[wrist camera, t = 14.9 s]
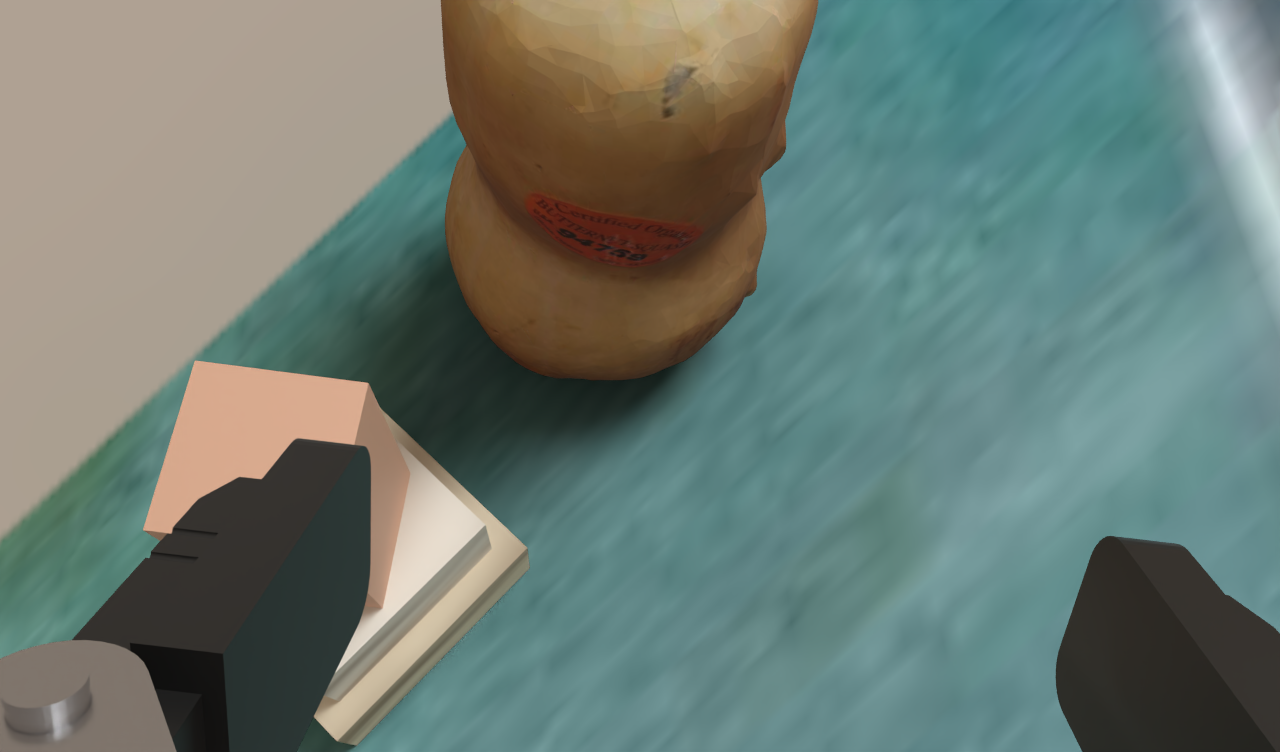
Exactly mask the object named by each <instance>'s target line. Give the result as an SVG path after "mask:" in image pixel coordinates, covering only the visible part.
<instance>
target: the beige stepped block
mask: <svg viewBox="0 0 1280 752" xmlns="http://www.w3.org/2000/svg"><path fill="white" fill-rule="evenodd" d="M380 409H381V408H380ZM381 411H382V413H383V415H384V417H385V419H386V422H387V424H388V426H389V428H390V430H391V432H392V434H393V437H394V439H395V441H396V443H397V445H398V447H399V449H400V452H401V454H402V456H403V458H404V460H405V462H406V464H407V467H408V469H409V471H410V473H411V474H410V479H409V484H408V488H407V493H406V498H405V503H404V508H403V513H402V518H401V522H400V527H399V532H398V537H397V542H396V547H395V552H394V556H393V561H392V566H391V571H390V576H389V581H388V586H387V590H386V595H385V600H384V605H383V608H376V607H368V606H364V610H363V613H362V617H361V619H360V622H359V624H358V627H357V629H356V631H355V633H354V635H353V637H352V639H351V641H350V643H349V645H348V647H347V649H346V651H345V653H344V655H343V658H342V660H341V662H340V664H339V666H338V668H337V670H336V672H335V674H334V676H333V678H332V680H331V682H330V684H329V686H328V688H327V690H326V692H325V694H324V696H323V698H322V701H321V703H320V705H319V707H318V709H317V711H316V713H315V715H314V718H315V719H316V720H317V721H318V722H319V723H320V724H321V725H322V726H323V727H324V728H325V729H326V730H327V731H328V732H329V734H330V735H331V736H332V737H333V738H334V739H335V740H336V741H337V742H342V743H347V744H351V745H356V746H357V745H358V744H359V743H360V742H361V741H362V740H363V739H364V738H365V737H366V736H367V735H368V734H369V733H370V732H371V730H372V729H373V728H374V727H375V726H376V725H377V724H378V723H379V722H380V721H381V720H382V719H383V718H384V717H385V716H386V715H387V714H388V713H389V712H390V711H391V710H392V709H393V708H394V707H395V706H396V705H397V704H398V703H399V702H400V701H401V700H402V699H403V698H404V697H405V696H406V695H407V694H408V693H409V691H410V690H411V689H412V688H413V687H414V686H415V685H416V684H417V683H418V682H419V681H420V680H421V679H422V678H423V677H424V676H425V675H426V674H427V673H428V672H429V671H430V670H431V669H432V668H433V667H434V666H435V665H436V664H437V663H438V662H439V661H440V660H441V659H442V658H443V657H444V656H445V655H446V653H447V652H448V651H449V650H450V649H451V648H452V647H453V646H454V645H455V644H456V643H457V642H458V641H459V640H460V639H461V638H462V637H463V636H464V635H465V634H466V633H467V632H468V631H469V630H470V629H471V628H472V627H473V626H474V625H475V624H476V623H477V622H478V621H479V620H480V619H481V618H482V617H483V616H484V614H485V613H486V612H487V611H488V610H489V609H490V608H491V607H492V606H493V605H494V604H495V603H496V602H497V601H498V600H499V599H500V598H501V597H502V596H503V595H504V594H505V593H506V592H507V591H508V590H509V589H510V588H511V587H512V586H513V585H514V584H515V583H516V582H517V581H518V580H519V579H520V578H521V577H522V575H523V574H524V573H525V572H526V571H527V570H528V569H529V568H530V565H529V558H528V550H527V547H526V546H525V545H524V544H523V543H522V542H521V541H519V540H518V539H517V538H516V537H515V536H514V535H513V534H512V533H511V532H510V531H509V530H508V529H507V528H506V527H505V526H504V525H503V524H502V523H501V522H500V521H498V520H497V519H496V518H495V517H494V516H493V515H492V514H491V513H490V512H489V511H488V510H487V509H486V508H485V507H484V506H483V505H482V504H481V503H480V502H479V501H477V500H476V499H475V498H474V497H473V496H472V495H471V494H470V493H469V492H468V491H467V490H466V489H465V488H464V487H463V486H462V485H461V484H460V483H459V482H458V481H456V480H455V479H454V478H453V477H452V476H451V475H450V474H449V473H448V472H447V471H446V470H445V469H444V468H443V467H442V466H441V465H440V464H439V463H438V462H437V461H435V460H434V459H433V458H432V457H431V456H430V455H429V454H428V453H427V452H426V451H425V450H424V449H423V448H422V447H421V446H420V445H419V444H418V443H417V442H416V441H414V440H413V439H412V438H411V437H410V436H409V435H408V434H407V433H406V432H405V431H404V430H403V429H402V428H401V427H400V426H399V425H398V424H397V423H396V422H394V421H393V420H392V419H391V418H390V417H389V416H388V415H387V414H386V413H385V412H384V411H383V410H382V409H381Z"/></svg>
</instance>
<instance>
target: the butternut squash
mask: <svg viewBox="0 0 1280 752" xmlns="http://www.w3.org/2000/svg"><path fill="white" fill-rule="evenodd" d="M817 6H818V0H441V11H442V28H443V29H442V30H443V47H444V59H445V71H446V81H447V87H448V93H449V100H450V104H451V107H452V110H453V113H454V116H455V119H456V122H457V125H458V127H459V129H460V131H461V133H462V135H463V137H464V140H465V142H466V144H467V145H466V147H465V149H464V151H463V153H462V154H461V156H460V158H459V160H458V162H457V164H456V167H455V171H454V174H453V177H452V181H451V186H450V190H449V194H448V199H447V204H446V213H445V235H446V242H447V247H448V251H449V256H450V260H451V263H452V267H453V270H454V273H455V276H456V278H457V281H458V284H459V286H460V289H461V291H462V294H463V296H464V299H465V301H466V303H467V305H468V307H469V309H470V310H471V311H472V313H473V314H474V316H475V317H476V318H477V320H478V321H479V322H480V324H481V326H482V327H483V329H484V330H485V331H486V333H487V334H488V335H489V337H490V338H491V340H492V341H493V342H494V343H495V344H496V345H497V346H498V347H499V348H500V349H501V350H502V351H503V352H505V353H506V354H507V355H508V356H509V357H511V358H512V359H513V360H514V361H515V362H517V363H518V364H520V365H521V366H523V367H525V368H527V369H529V370H531V371H533V372H536V373H538V374H541V375H544V376H549V377H552V378H576V379H587V380H628V379H636V378H642V377H645V376H648V375H651V374H654V373H657V372H659V371H661V370H663V369H665V368H668V367H670V366H673V365H675V364H678V363H680V362H683V361H685V360H686V359H688V358H689V357H691V356H692V355H694V354H695V353H696V352H697V351H699V350H700V349H701V348H702V347H703V346H704V345H705V344H706V343H707V342H708V341H710V340H711V339H712V338H713V337H714V336H715V335H716V334H717V333H718V332H719V331H720V330H721V329H722V328H723V327H724V326H725V325H726V324H727V322H728V321H729V320H730V319H731V318H732V317H733V316H734V315H735V314H736V312H737V311H738V309H739V308H740V306H741V304H742V302H743V299H744V297H747V296H750V295H752V294H753V293H754V291H755V290H756V286H757V267H758V264H759V261H760V257H761V254H762V250H763V245H764V241H765V236H766V228H767V227H766V213H765V203H764V197H763V191H762V184H761V177H762V175H763V173H764V172H765V171H766V170H768V169H769V168H771V167H772V166H773V165H774V164H775V163H776V162H777V161H778V160H780V159H781V157H782V156H783V154H784V153H785V150H786V129H785V119H786V116H787V113H788V110H789V106H790V102H791V97H792V93H793V88H794V84H795V81H796V77H797V74H798V71H799V68H800V65H801V62H802V59H803V56H804V53H805V50H806V48H807V45H808V42H809V39H810V36H811V33H812V29H813V25H814V21H815V17H816V13H817Z"/></svg>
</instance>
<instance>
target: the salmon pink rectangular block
mask: <svg viewBox="0 0 1280 752" xmlns="http://www.w3.org/2000/svg"><path fill="white" fill-rule="evenodd" d="M297 438H302V439H310V440H319V441H327V442H335V443H344V444H352V445H361V446H365V447H367V449H368V451H369V454H370V460H371V565H370V580H369V587H368V593H367V598H366V603H365V606H368V607H376V608H383V605H384V600H385V595H386V590H387V586H388V581H389V576H390V571H391V566H392V561H393V556H394V552H395V547H396V542H397V537H398V532H399V527H400V522H401V518H402V513H403V508H404V503H405V498H406V493H407V488H408V484H409V479H410V474H411V473H410V471H409V469H408V467H407V464H406V462H405V460H404V458H403V456H402V454H401V452H400V449H399V447H398V445H397V443H396V441H395V439H394V437H393V434H392V432H391V430H390V428H389V426H388V424H387V422H386V419H385V417H384V415H383V413H382V411H381V409H380V407H379V404H378V402H377V400H376V398H375V396H374V394H373V392H372V389H371V387H370V385H369V383H365V382H357V381H349V380H342V379H334V378H326V377H318V376H310V375H303V374H295V373H287V372H279V371H272V370H264V369H256V368H248V367H241V366H233V365H225V364H217V363H209V362H202V361H195V362H194V366H193V369H192V372H191V375H190V379H189V382H188V385H187V388H186V392H185V395H184V398H183V401H182V405H181V408H180V411H179V414H178V418H177V421H176V424H175V428H174V431H173V434H172V437H171V441H170V444H169V447H168V450H167V454H166V457H165V460H164V463H163V467H162V470H161V473H160V476H159V480H158V483H157V486H156V489H155V493H154V496H153V499H152V502H151V506H150V509H149V512H148V515H147V519H146V522H145V525H144V528H143V530H144V531H145V532H147V533H149V534H150V535H152V536H153V537H155V538H157V539H158V540H160V541H161V540H162V539H163V538H164V537H165V535H166V534H167V533H169V534H171V533H172V529H173V527H174V525H175V524H176V523H177V522H178V521H179V520H180V519H181V518H182V516H183V515H184V514H185V513H186V512H187V511H188V510H189V509H190V508H191V506H192V505H193V504H194V503H195V502H196V501H197V500H198V499H199V498H201V497H203V496H205V495H206V494H208V493H210V492H212V491H214V490H216V489H218V488H219V487H221V486H223V485H225V484H227V483H229V482H231V481H232V480H234V479H236V478H238V477H247V478H255V479H262V478H263V477H264V476H265V475H266V473H267V472H268V471H269V470H270V468H271V467H272V466H273V465H274V463H275V462H276V461H277V460H278V458H279V457H280V456H281V455H282V453H283V452H284V451H285V450H286V449H287V447H288V446H289V445H290V444H291V443H292V441H293V440H295V439H297Z"/></svg>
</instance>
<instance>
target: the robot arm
mask: <svg viewBox="0 0 1280 752" xmlns="http://www.w3.org/2000/svg"><path fill="white" fill-rule="evenodd" d="M370 565H371V460H370V454H369V451H368V449H367V447H365V446H361V445H352V444H344V443H335V442H327V441H319V440H310V439H302V438H297V439H295V440H293V441H292V443H291V444H290V445H289V446H288V447H287V449H286V450H285V451H284V452H283V453H282V455H281V456H280V457H279V458H278V460H277V461H276V462H275V463H274V465H273V466H272V467H271V468H270V470H269V471H268V472H267V473H266V475H265V476H264V477H263V478H262V479H255V478H247V477H238V478H236V479H234V480H232V481H231V482H229V483H227V484H225V485H223V486H221V487H219V488H218V489H216V490H214V491H212V492H210V493H208V494H206V495H205V496H203V497H201V498H199V499H198V500H197V501H196V502H195V503H194V504H193V505H192V506H191V508H190V509H189V510H188V511H187V512H186V513H185V514H184V515H183V516H182V518H181V519H180V520H179V521H178V522H177V523H176V524H175V525H174V527H173V529H172V533H171V534H169V533H167V534H166V535H165V537H164V538H163V539H162V540H161V541H160V542H159V543H158V544H157V546H156V547H155V548H154V549H153V550H152V551H151V556H150V558H145V559H144V560H143V561H142V562H141V563H140V565H139V566H138V567H137V568H136V569H135V570H134V571H133V572H132V573H131V575H130V576H129V577H128V578H127V579H126V580H125V581H124V582H123V584H122V585H121V586H120V587H119V588H118V589H117V590H116V591H115V592H114V594H113V595H112V596H111V597H110V598H109V599H108V600H107V601H106V603H105V604H104V605H103V606H102V607H101V608H100V609H99V610H98V611H97V613H96V614H95V615H94V616H93V617H92V618H91V619H90V620H89V622H88V623H87V624H86V625H85V626H84V627H83V628H82V629H81V630H80V632H79V633H78V634H77V635H76V636H75V637H74V638H73V639H72V640H70V641H61V642H53V643H48V644H43V645H39V646H35V647H31V648H28V649H25V650H21V651H18V652H16V653H13V654H11V655H8V656H6V657H3V658H1V659H0V752H297V750H298V748H299V746H300V744H301V741H302V739H303V737H304V735H305V733H306V731H307V729H308V727H309V725H310V723H311V721H312V719H313V717H314V715H315V713H316V711H317V709H318V707H319V705H320V703H321V701H322V698H323V696H324V694H325V692H326V690H327V688H328V686H329V684H330V682H331V680H332V678H333V676H334V674H335V672H336V670H337V668H338V666H339V664H340V662H341V660H342V658H343V655H344V653H345V651H346V649H347V647H348V645H349V643H350V641H351V639H352V637H353V635H354V633H355V631H356V629H357V627H358V624H359V622H360V619H361V617H362V613H363V610H364V606H365V603H366V598H367V593H368V587H369V580H370ZM1056 688H1057V695H1058V700H1059V703H1060V706H1061V709H1062V711H1063V713H1064V715H1065V717H1066V719H1067V722H1068V724H1069V726H1070V728H1071V730H1072V732H1073V734H1074V736H1075V738H1076V740H1077V742H1078V744H1079V746H1080V748H1081V750H1082V752H1280V633H1279V632H1278V631H1277V630H1276V629H1275V628H1274V627H1273V626H1271V625H1270V624H1268V623H1267V622H1266V621H1264V620H1263V619H1261V618H1260V617H1259V616H1257V615H1256V614H1254V613H1253V612H1251V611H1250V610H1249V609H1247V608H1246V607H1244V606H1243V605H1242V604H1240V603H1239V602H1237V601H1236V600H1235V599H1233V598H1232V597H1230V596H1229V595H1225V594H1224V593H1223V591H1222V590H1221V589H1220V588H1219V587H1218V586H1217V584H1216V583H1215V582H1214V581H1213V580H1212V578H1211V577H1210V576H1209V575H1208V574H1207V572H1206V571H1205V570H1204V569H1203V568H1202V566H1201V565H1200V564H1199V563H1198V562H1197V561H1196V559H1195V558H1194V557H1193V556H1192V555H1191V553H1190V552H1189V551H1188V550H1187V549H1186V548H1185V547H1183V546H1181V545H1179V544H1174V543H1166V542H1157V541H1149V540H1140V539H1132V538H1123V537H1115V536H1107V537H1105V538H1103V539H1102V540H1101V541H1099V543H1098V544H1097V545H1096V547H1095V548H1094V550H1093V552H1092V555H1091V557H1090V560H1089V563H1088V566H1087V569H1086V572H1085V575H1084V578H1083V581H1082V584H1081V587H1080V590H1079V593H1078V596H1077V599H1076V601H1075V604H1074V607H1073V610H1072V613H1071V616H1070V619H1069V622H1068V625H1067V628H1066V631H1065V634H1064V637H1063V640H1062V643H1061V646H1060V649H1059V652H1058V657H1057V664H1056Z"/></svg>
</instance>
